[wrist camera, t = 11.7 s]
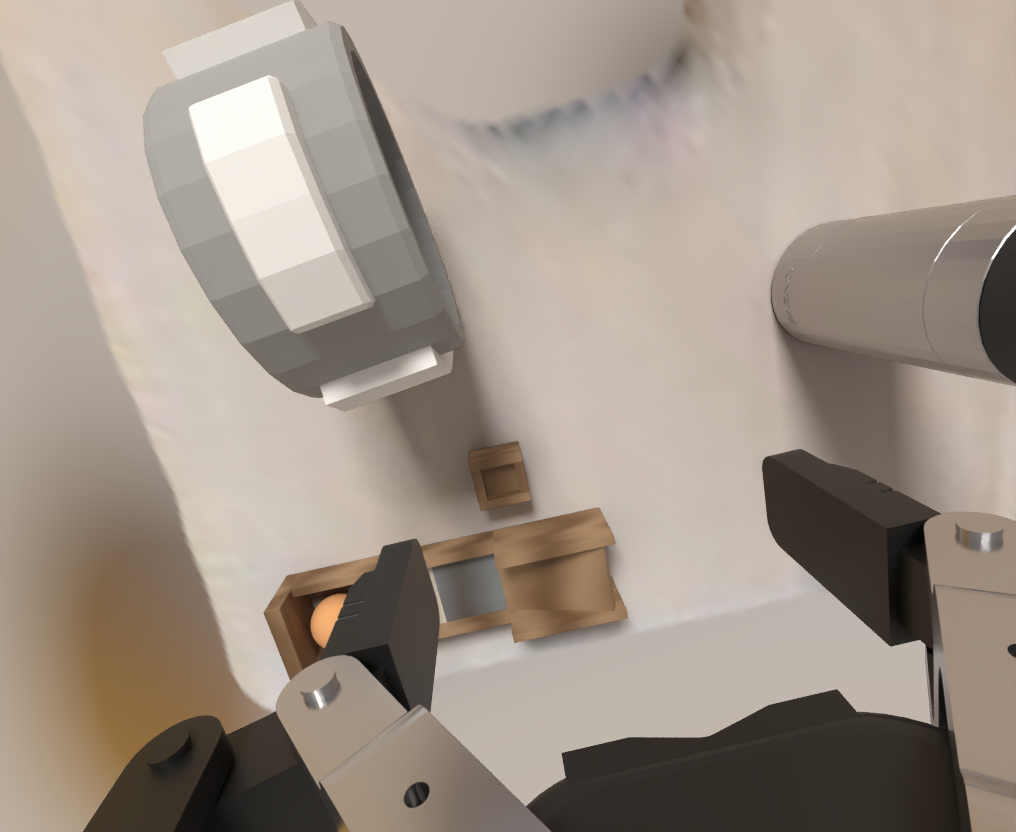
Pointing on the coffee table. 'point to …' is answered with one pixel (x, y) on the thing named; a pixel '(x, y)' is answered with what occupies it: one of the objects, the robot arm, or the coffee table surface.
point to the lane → (481, 584)
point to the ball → (326, 618)
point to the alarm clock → (300, 209)
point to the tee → (499, 476)
